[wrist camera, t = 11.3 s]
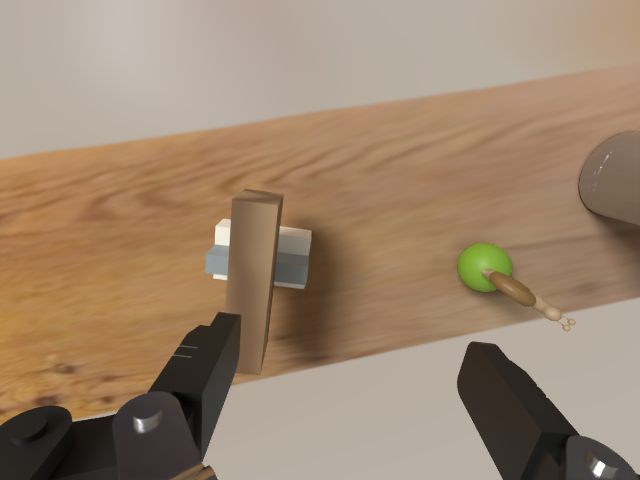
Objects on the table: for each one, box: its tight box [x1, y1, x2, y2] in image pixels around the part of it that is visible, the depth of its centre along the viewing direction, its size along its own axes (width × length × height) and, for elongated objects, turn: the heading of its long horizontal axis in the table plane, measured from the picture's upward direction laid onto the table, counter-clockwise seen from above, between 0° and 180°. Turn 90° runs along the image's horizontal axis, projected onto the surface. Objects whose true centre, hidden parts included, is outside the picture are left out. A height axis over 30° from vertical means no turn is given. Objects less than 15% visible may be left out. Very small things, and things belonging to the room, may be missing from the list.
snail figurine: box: [457, 243, 575, 331], centre depth 32 cm, size 5×6×12 cm
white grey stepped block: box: [205, 219, 311, 289], centre depth 34 cm, size 10×6×6 cm, turn 82°
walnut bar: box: [225, 189, 284, 375], centre depth 29 cm, size 4×16×5 cm, turn 172°
